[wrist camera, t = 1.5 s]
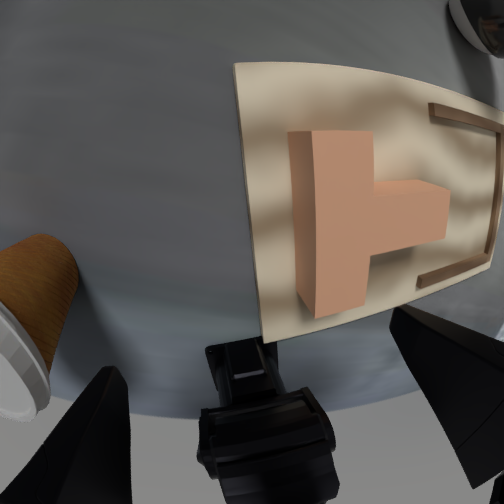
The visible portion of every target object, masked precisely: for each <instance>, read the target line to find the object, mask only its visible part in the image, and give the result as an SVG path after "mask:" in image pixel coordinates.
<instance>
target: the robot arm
mask: <svg viewBox="0 0 504 504" xmlns="http://www.w3.org/2000/svg"><path fill="white" fill-rule="evenodd" d="M389 328H390V332H391V334H392V336H393V338H394V340H395V342H396V344H397V346H398V348H399V350H400V352H401V354H402V356H403V358H404V360H405V362H406V364H407V366H408V368H409V370H410V371H411V373H412V375H413V376H414V378H415V380H416V381H417V383H418V385H419V386H420V388H421V390H422V391H423V393H424V395H425V397H426V398H427V400H428V402H429V404H430V405H431V407H432V409H433V411H434V413H435V414H436V416H437V418H438V420H439V422H440V424H441V425H442V427H443V429H444V431H445V433H446V435H447V437H448V439H449V441H450V443H451V444H452V447H453V449H454V450H455V453H456V455H457V457H458V459H459V461H460V463H461V465H462V467H463V470H464V472H465V474H466V476H467V479H468V481H469V483H470V485H471V487H472V489H475V488H477V487H478V486H480V485H482V484H483V483H485V482H486V481H488V480H490V479H491V478H493V477H494V476H496V475H497V474H498V473H500V472H501V471H503V472H502V473H501V474H500V475H499V476H498V477H497V478H496V479H495V481H494V486H493V491H492V495H491V499H490V503H489V504H504V342H502V341H499V340H496V339H494V338H492V337H488V336H486V335H484V334H481V333H479V332H476V331H474V330H471V329H469V328H466V327H463V326H461V325H458V324H456V323H453V322H451V321H448V320H446V319H443V318H440V317H438V316H435V315H433V314H430V313H428V312H425V311H422V310H420V309H417V308H415V307H412V306H409V305H407V304H402V305H399V306H396V307H395V308H394V310H393V313H392V317H391V321H390V325H389ZM209 351H212V352H209ZM205 354H206V357H207V360H208V364H209V367H210V370H211V373H212V377H213V380H214V383H215V386H216V389H217V391H218V393H219V399H220V405H221V407H218V408H212V409H208V408H205V409H201V417H200V418H199V445H198V450H197V460H198V462H199V463H201V464H202V465H203V466H205V468H206V470H207V472H208V474H209V476H210V478H211V479H219V482H220V486H221V489H222V492H223V495H224V498H225V501H226V503H227V504H325V503H326V502H327V501H328V500H330V499H333V498H335V497H336V496H337V493H338V489H339V486H340V483H339V480H338V477H337V473H336V470H335V467H334V462H333V458H332V453H331V452H333V451H334V450H335V447H336V441H335V435H334V431H333V428H332V425H331V422H330V420H329V418H328V416H327V414H326V413H325V411H324V410H323V409H322V407H321V406H320V404H319V403H318V401H317V400H316V399H315V397H314V396H313V394H312V393H311V391H310V390H309V389H308V387H304V388H301V390H297V391H294V392H290V393H287V392H286V390H285V387H284V385H283V382H282V379H281V377H280V374H279V371H278V353H277V341H274V342H269V343H265V344H264V342H263V338H262V336H259V337H254V338H249V339H244V340H239V341H234V342H229V343H223V344H217V345H212V346H208V347H206V348H205ZM130 432H131V429H130V416H129V401H128V387H127V383H126V381H125V380H124V378H123V376H122V375H121V373H120V372H119V370H118V368H117V367H116V366H104V367H102V368H101V370H100V371H99V372H98V373H97V375H96V376H95V377H94V378H93V379H92V381H91V382H90V383H89V384H88V386H87V387H86V388H85V389H84V391H83V392H82V393H81V394H80V396H79V397H78V398H77V399H76V401H75V402H74V403H73V404H72V406H71V407H70V408H69V409H68V411H67V412H66V413H65V415H64V416H63V417H62V419H61V420H60V421H59V423H58V424H57V425H56V426H55V428H54V429H53V431H52V432H51V433H50V434H49V436H48V437H47V438H46V440H45V441H44V443H43V444H42V445H41V446H40V448H39V449H38V450H37V452H36V453H35V454H34V456H33V457H32V458H31V460H30V461H29V462H28V463H27V465H26V466H25V467H24V468H23V469H22V471H21V472H20V473H19V474H18V475H17V476H16V477H15V478H14V480H13V481H12V482H11V483H10V484H9V485H8V486H7V487H6V489H5V490H4V491H3V492H2V493H1V494H0V504H132V490H131V458H130V456H131V455H130V446H131V441H130V440H131V435H130V434H131V433H130Z"/></svg>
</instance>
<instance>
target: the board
mask: <svg viewBox="0 0 504 504" xmlns="http://www.w3.org/2000/svg"><path fill="white" fill-rule="evenodd" d="M232 68H233V77H234V86H235V95H236V104H237V114H238V123H239V132H240V141H241V151H242V160H243V169H244V178H245V188H246V197H247V206H248V216H249V225H250V234H251V243H252V253H253V262H254V271H255V281H256V290H257V299H258V308H259V318H260V327H261V336H262V338H263V342H264V344H265V343H269V342H274V341H278V340H282V339H287V338H291V337H295V336H299V335H303V334H307V333H311V332H315V331H318V330H322V329H326V328H329V327H333V326H336V325H340V324H343V323H347V322H350V321H353V320H356V319H360V318H363V317H366V316H369V315H372V314H375V313H378V312H381V311H384V310H387V309H390V308H393V307H396V306H399V305H402V304H404V303H407V302H410V301H413V300H415V299H418V298H421V297H423V296H426V295H428V294H431V293H433V292H436V291H438V290H441V289H443V288H446V287H448V286H450V285H453V284H455V283H457V282H460V281H462V280H464V279H467V278H469V277H471V276H473V275H475V274H478V273H480V272H482V271H484V270H486V269H488V268H490V264H491V260H492V256H493V252H494V247H495V243H496V238H497V233H498V228H499V222H500V216H501V209H502V201H503V192H504V112H502V111H500V110H498V109H496V108H493V107H491V106H489V105H487V104H484V103H482V102H480V101H477V100H475V99H472V98H470V97H467V96H465V95H462V94H459V93H456V92H454V91H451V90H448V89H445V88H442V87H438V86H435V85H432V84H429V83H425V82H421V81H418V80H414V79H410V78H406V77H402V76H397V75H393V74H388V73H383V72H378V71H372V70H367V69H360V68H353V67H346V66H338V65H328V64H316V63H298V62H249V63H234V65H233V67H232ZM325 130H345V131H373V148H374V182H382V181H399V180H421V181H424V182H427V183H431V184H434V185H437V186H440V187H443V188H446V189H449V190H451V193H450V204H449V214H448V222H447V229H446V236H445V238H444V239H440V240H436V241H432V242H428V243H424V244H420V245H415V246H411V247H407V248H403V249H398V250H394V251H390V252H385V253H381V254H376V255H372V256H370V264H369V274H368V282H367V290H366V298H365V305H364V306H360V307H357V308H353V309H350V310H346V311H343V312H339V313H335V314H332V315H328V316H324V317H320V318H317V319H315V318H314V317H313V315H312V314H311V312H310V311H309V309H308V307H307V306H306V304H305V303H304V301H303V300H302V298H301V297H300V295H299V294H298V292H297V291H296V271H295V243H294V221H293V202H292V186H291V171H290V158H289V145H288V133H287V132H293V131H325Z"/></svg>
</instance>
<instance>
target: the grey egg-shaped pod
mask: <svg viewBox="0 0 504 504" xmlns="http://www.w3.org/2000/svg"><path fill="white" fill-rule="evenodd" d="M449 8H450V12H451V15H452V18H453V20H454V22H455V24H456V26H457V27H458V29H459V31H460V32H461V33H462V35H463V36H464V37H465V38H466V39H467V41H468V42H470V43H471V44H472V45H473V46H474V47H476V48H477V49H479V50H480V51H482V52H484V53H487V54H490V55H494V56H495V57H497V58H500V59H504V0H449Z"/></svg>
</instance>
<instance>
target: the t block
mask: <svg viewBox="0 0 504 504" xmlns="http://www.w3.org/2000/svg"><path fill="white" fill-rule="evenodd" d="M287 133H288V145H289V158H290V171H291V186H292V202H293V221H294V243H295V271H296V291H297V292H298V294H299V295H300V297H301V298H302V300H303V301H304V303H305V304H306V306H307V307H308V309H309V311H310V312H311V314H312V315H313V317H314V318H315V319H317V318H320V317H324V316H328V315H332V314H335V313H339V312H343V311H346V310H350V309H353V308H357V307H360V306H364V305H365V298H366V290H367V282H368V274H369V264H370V256H372V255H376V254H381V253H385V252H390V251H394V250H398V249H403V248H407V247H411V246H415V245H420V244H424V243H428V242H432V241H436V240H440V239H444V238H445V236H446V229H447V222H448V214H449V204H450V193H451V190H449V189H446V188H443V187H440V186H437V185H434V184H431V183H427V182H424V181H421V180H399V181H382V182H374V148H373V131H345V130H325V131H293V132H287Z"/></svg>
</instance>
